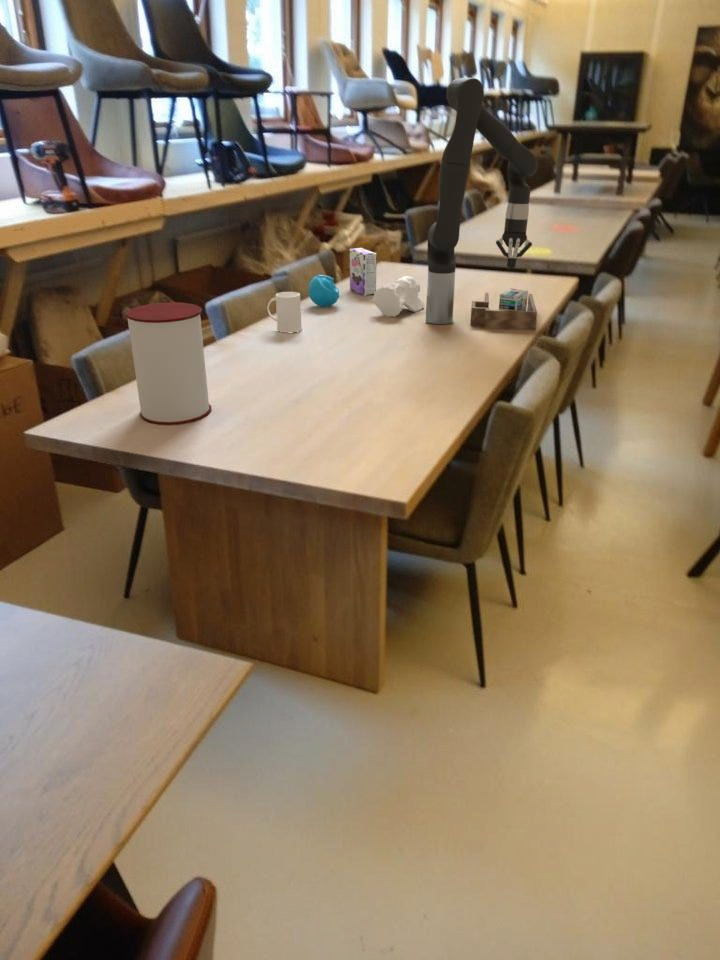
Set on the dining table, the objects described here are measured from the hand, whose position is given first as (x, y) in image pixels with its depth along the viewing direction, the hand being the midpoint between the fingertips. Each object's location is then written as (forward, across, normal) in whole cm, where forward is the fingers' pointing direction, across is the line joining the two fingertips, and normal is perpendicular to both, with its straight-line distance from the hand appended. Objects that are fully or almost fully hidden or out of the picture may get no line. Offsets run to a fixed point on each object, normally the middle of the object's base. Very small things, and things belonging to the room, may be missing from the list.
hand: (510, 268), depth 263 cm
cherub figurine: (+18, -39, 0) cm, 43 cm away
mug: (+19, -74, -30) cm, 83 cm away
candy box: (+18, -56, +30) cm, 66 cm away
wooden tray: (+16, -2, -7) cm, 18 cm away
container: (+19, -84, -108) cm, 139 cm away
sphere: (+18, -67, +4) cm, 70 cm away
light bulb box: (+16, +2, -12) cm, 20 cm away
